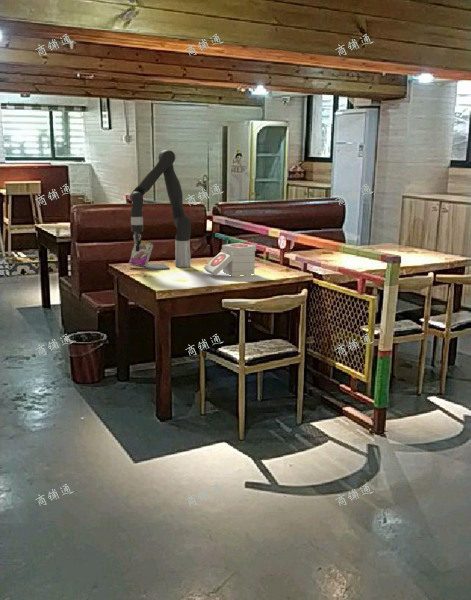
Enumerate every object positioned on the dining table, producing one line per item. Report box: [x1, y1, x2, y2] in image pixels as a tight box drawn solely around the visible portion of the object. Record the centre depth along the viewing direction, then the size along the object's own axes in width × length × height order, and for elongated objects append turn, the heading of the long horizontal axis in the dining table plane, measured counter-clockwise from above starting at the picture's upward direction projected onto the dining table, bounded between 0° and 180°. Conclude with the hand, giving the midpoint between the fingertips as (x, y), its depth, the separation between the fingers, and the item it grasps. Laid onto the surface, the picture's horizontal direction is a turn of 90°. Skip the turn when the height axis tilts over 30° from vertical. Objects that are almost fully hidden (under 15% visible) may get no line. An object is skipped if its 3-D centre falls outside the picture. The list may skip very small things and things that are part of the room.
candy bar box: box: [128, 240, 154, 269], centre depth 403 cm, size 11×5×16 cm
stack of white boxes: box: [203, 242, 257, 277], centre depth 385 cm, size 19×30×18 cm, turn 114°
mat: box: [145, 263, 171, 271], centre depth 404 cm, size 13×16×1 cm
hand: (137, 251), depth 397 cm, fingers closed
